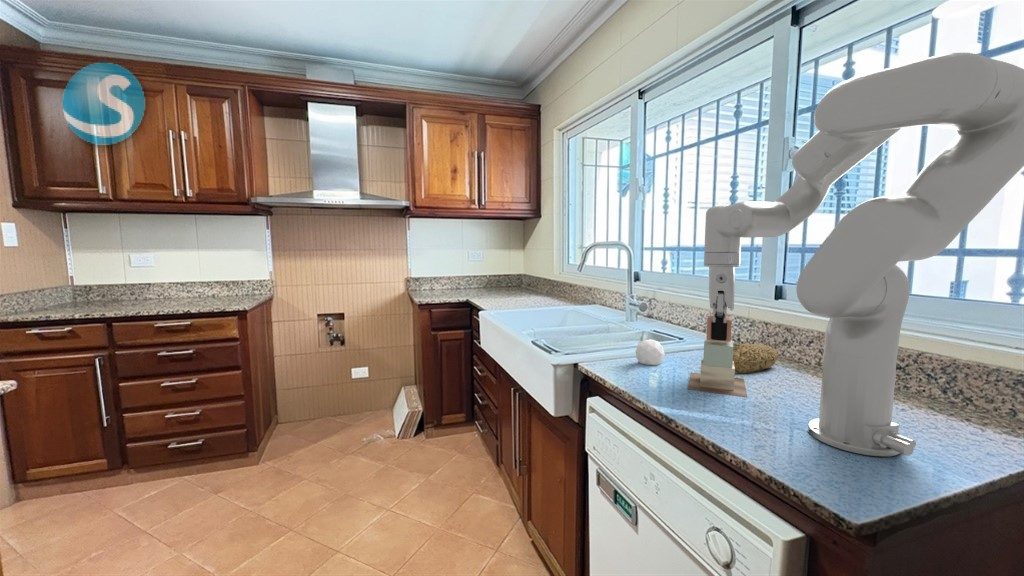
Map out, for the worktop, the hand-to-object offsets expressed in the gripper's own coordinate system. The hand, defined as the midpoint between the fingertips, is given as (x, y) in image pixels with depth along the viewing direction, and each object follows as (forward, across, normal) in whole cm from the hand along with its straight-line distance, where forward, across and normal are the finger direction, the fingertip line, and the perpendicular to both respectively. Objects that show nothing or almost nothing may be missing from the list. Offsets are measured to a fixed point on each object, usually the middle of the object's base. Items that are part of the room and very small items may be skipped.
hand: (718, 336), depth 96 cm
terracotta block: (0, 0, 0) cm, 0 cm away
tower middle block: (+6, 0, 0) cm, 6 cm away
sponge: (+13, +21, -8) cm, 26 cm away
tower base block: (+11, 0, 0) cm, 11 cm away
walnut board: (+12, 0, 0) cm, 12 cm away
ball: (+13, +12, +17) cm, 24 cm away
